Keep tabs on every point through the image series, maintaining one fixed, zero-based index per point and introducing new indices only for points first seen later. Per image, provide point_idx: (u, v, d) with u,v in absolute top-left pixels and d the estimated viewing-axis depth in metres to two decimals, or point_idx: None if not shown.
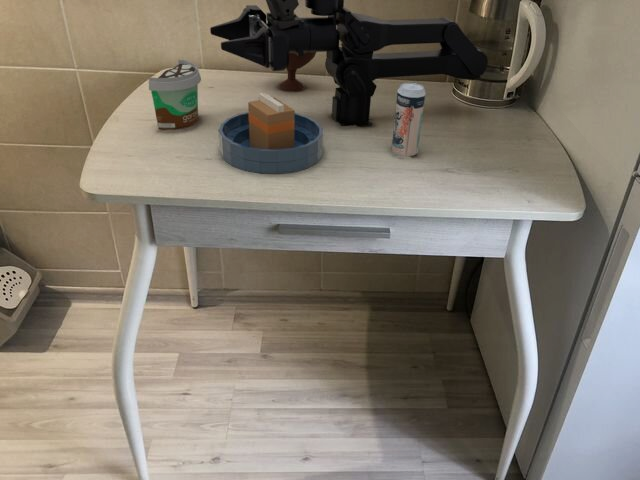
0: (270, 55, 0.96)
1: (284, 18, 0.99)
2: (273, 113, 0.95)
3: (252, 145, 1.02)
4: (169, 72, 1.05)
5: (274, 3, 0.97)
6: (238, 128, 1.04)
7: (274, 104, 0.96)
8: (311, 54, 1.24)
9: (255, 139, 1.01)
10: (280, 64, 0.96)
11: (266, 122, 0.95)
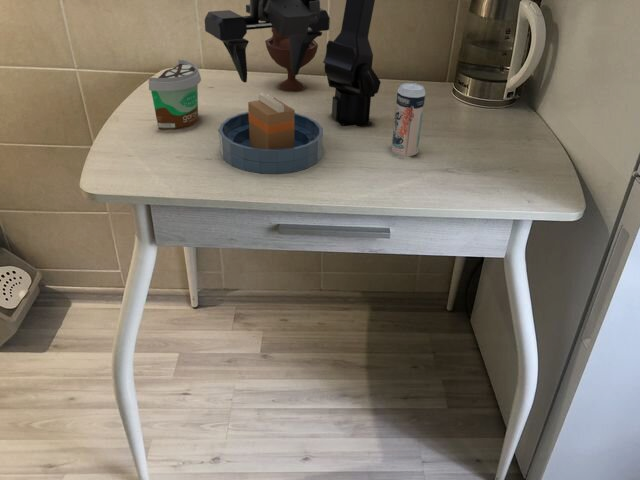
0: None
1: None
2: (273, 113, 0.95)
3: (252, 145, 1.02)
4: (169, 72, 1.05)
5: None
6: (238, 128, 1.04)
7: (274, 104, 0.96)
8: (311, 54, 1.24)
9: (255, 139, 1.01)
10: None
11: (266, 122, 0.95)
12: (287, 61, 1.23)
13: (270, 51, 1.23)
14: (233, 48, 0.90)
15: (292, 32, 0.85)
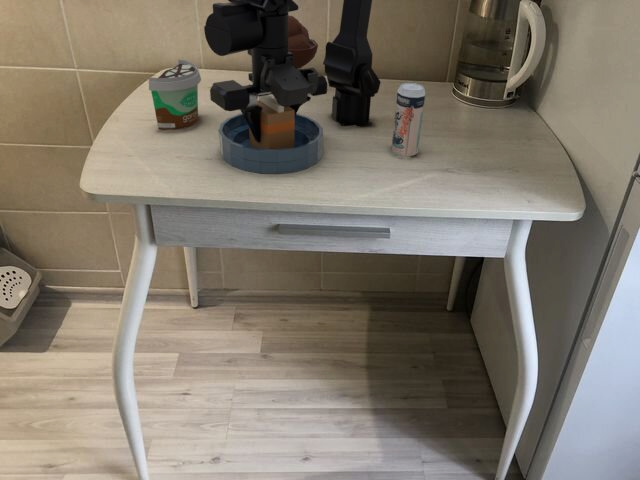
0: None
1: None
2: (273, 113, 0.95)
3: (252, 145, 1.02)
4: (169, 72, 1.05)
5: None
6: (238, 128, 1.04)
7: (274, 104, 0.96)
8: (311, 54, 1.24)
9: None
10: None
11: (266, 122, 0.95)
12: None
13: None
14: (248, 112, 0.97)
15: (292, 102, 0.91)
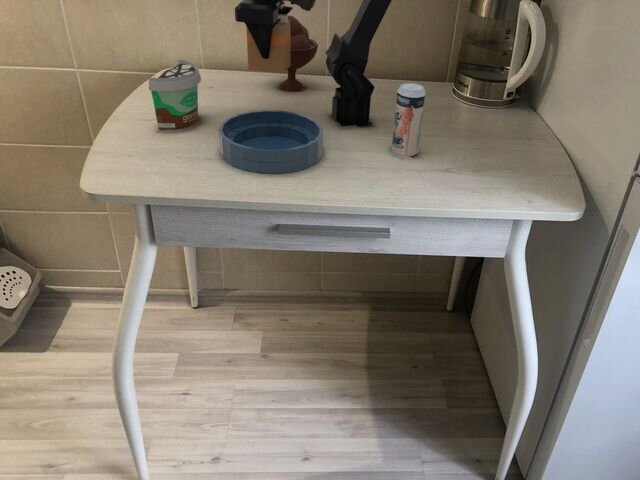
0: None
1: None
2: (284, 24, 1.01)
3: (252, 66, 1.05)
4: (169, 72, 1.05)
5: None
6: (238, 128, 1.04)
7: (279, 16, 1.02)
8: (311, 54, 1.24)
9: (259, 58, 1.04)
10: None
11: (281, 34, 1.01)
12: None
13: None
14: (258, 30, 1.00)
15: (312, 6, 1.00)
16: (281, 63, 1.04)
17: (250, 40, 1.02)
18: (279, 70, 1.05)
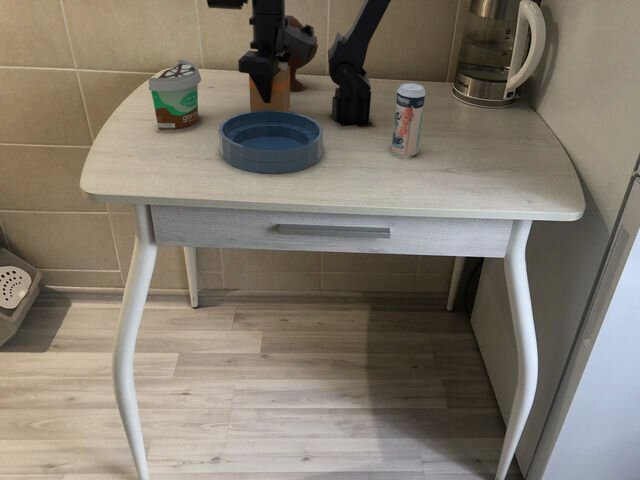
0: None
1: None
2: (284, 71, 1.09)
3: (254, 109, 1.13)
4: (169, 72, 1.05)
5: None
6: (238, 128, 1.04)
7: (279, 64, 1.09)
8: None
9: (260, 102, 1.12)
10: None
11: (281, 81, 1.09)
12: (287, 61, 1.23)
13: None
14: (260, 77, 1.08)
15: (310, 56, 1.07)
16: (281, 107, 1.12)
17: (252, 86, 1.10)
18: None
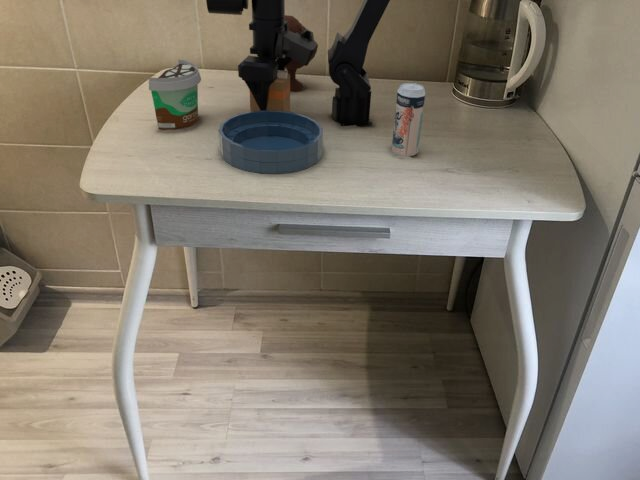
0: None
1: None
2: (284, 80, 1.10)
3: None
4: (169, 72, 1.05)
5: None
6: (238, 128, 1.04)
7: (279, 73, 1.10)
8: None
9: None
10: None
11: (281, 89, 1.10)
12: None
13: None
14: (257, 86, 1.07)
15: (309, 61, 1.08)
16: None
17: None
18: None
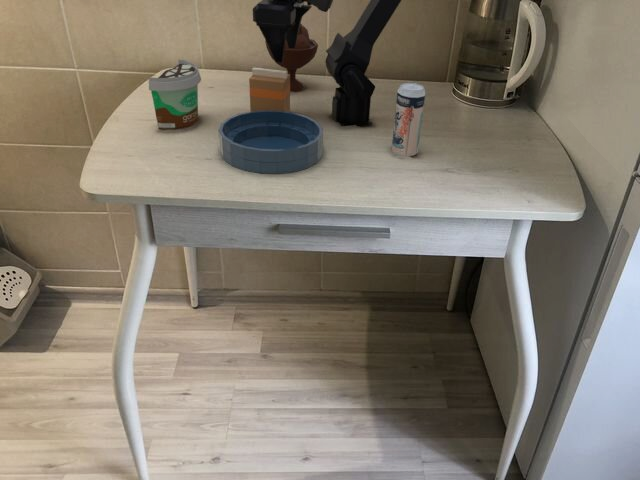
0: None
1: None
2: (284, 80, 1.10)
3: None
4: (169, 72, 1.05)
5: None
6: (238, 128, 1.04)
7: (279, 73, 1.10)
8: (311, 54, 1.24)
9: None
10: None
11: (281, 89, 1.10)
12: (287, 61, 1.23)
13: (270, 51, 1.23)
14: (272, 33, 0.99)
15: (329, 7, 1.00)
16: None
17: (253, 94, 1.11)
18: None
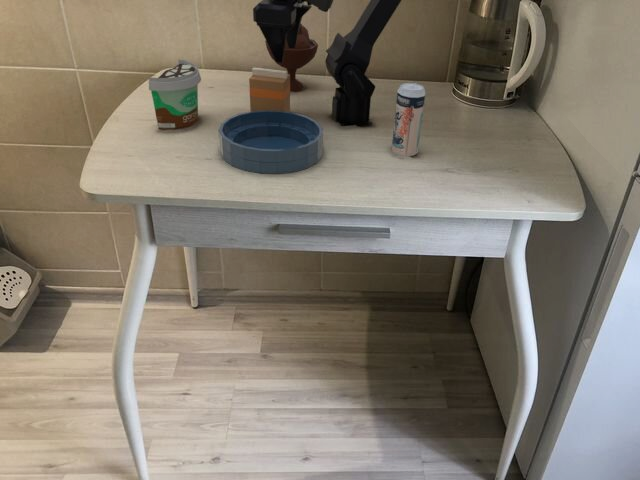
0: None
1: None
2: (284, 80, 1.10)
3: None
4: (169, 72, 1.05)
5: None
6: (238, 128, 1.04)
7: (279, 73, 1.10)
8: (311, 54, 1.24)
9: None
10: None
11: (281, 89, 1.10)
12: (287, 61, 1.23)
13: (270, 51, 1.23)
14: (272, 33, 0.99)
15: (329, 7, 1.00)
16: None
17: (253, 94, 1.11)
18: None
